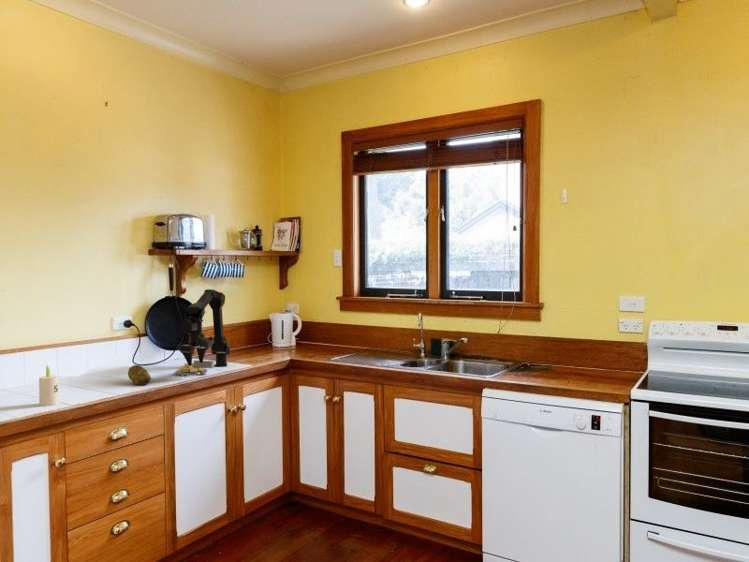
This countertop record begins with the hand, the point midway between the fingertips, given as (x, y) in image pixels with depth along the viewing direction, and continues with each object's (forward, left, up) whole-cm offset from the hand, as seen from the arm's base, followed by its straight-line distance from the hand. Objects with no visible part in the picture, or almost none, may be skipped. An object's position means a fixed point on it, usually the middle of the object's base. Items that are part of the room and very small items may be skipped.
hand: (195, 364), depth 273 cm
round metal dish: (-10, -4, -6) cm, 12 cm away
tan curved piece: (-9, -1, -5) cm, 10 cm away
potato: (+12, -23, -6) cm, 27 cm away
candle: (+46, -48, -6) cm, 67 cm away
